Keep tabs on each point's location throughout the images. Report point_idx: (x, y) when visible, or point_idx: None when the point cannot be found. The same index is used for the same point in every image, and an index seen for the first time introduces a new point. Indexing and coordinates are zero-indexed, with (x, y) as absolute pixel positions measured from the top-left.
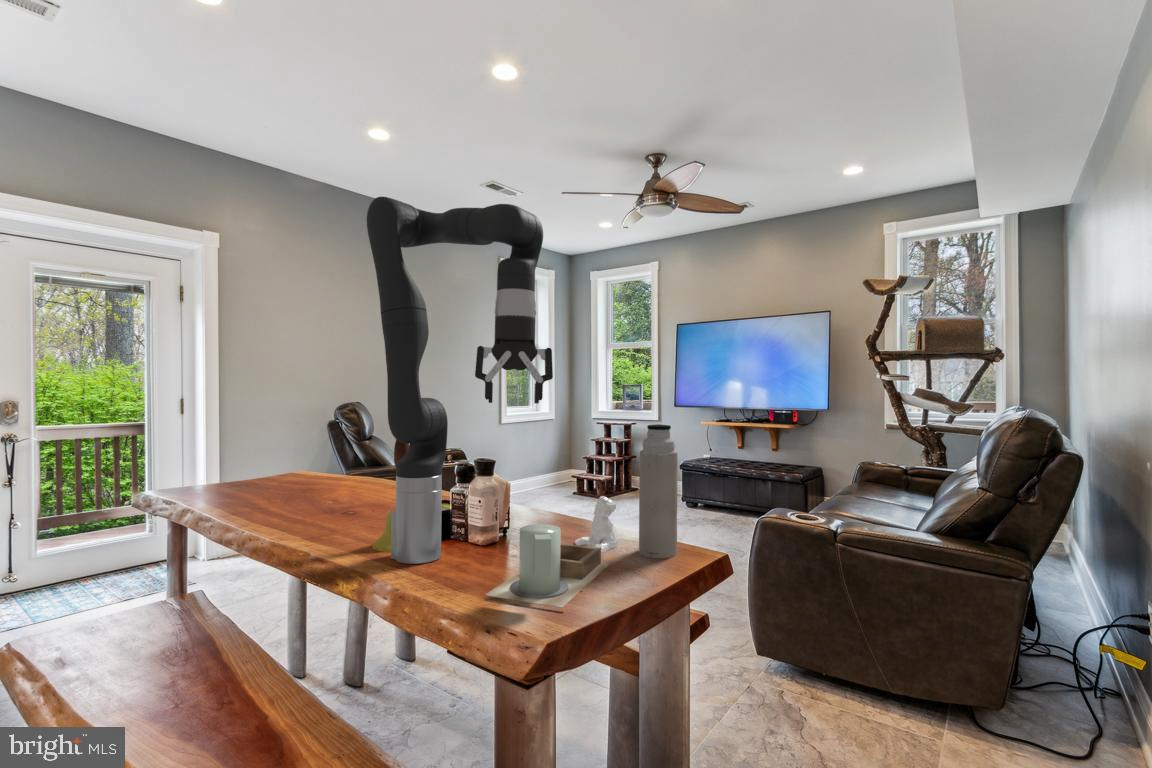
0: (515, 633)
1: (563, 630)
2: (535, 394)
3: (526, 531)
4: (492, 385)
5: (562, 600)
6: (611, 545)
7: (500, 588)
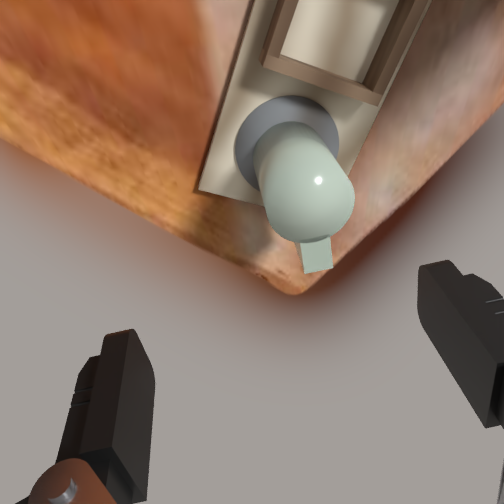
0: (265, 276)
1: None
2: (444, 360)
3: (282, 225)
4: (146, 479)
5: None
6: None
7: (218, 158)
